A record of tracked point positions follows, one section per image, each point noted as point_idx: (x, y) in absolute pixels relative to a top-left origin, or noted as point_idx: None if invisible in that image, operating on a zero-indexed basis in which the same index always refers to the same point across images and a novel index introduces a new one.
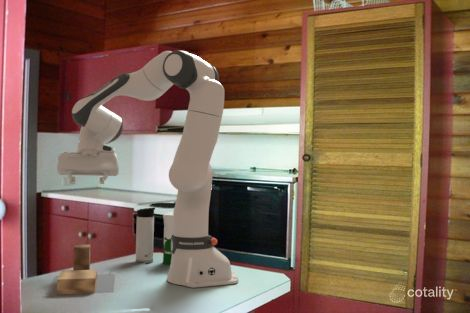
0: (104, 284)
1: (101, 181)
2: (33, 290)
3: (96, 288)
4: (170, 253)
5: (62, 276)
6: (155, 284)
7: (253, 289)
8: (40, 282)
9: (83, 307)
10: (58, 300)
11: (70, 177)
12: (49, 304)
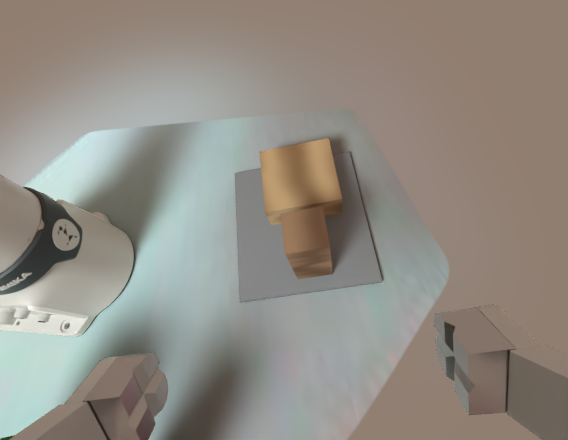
0: (255, 215)
1: (133, 355)
2: (388, 186)
3: None
4: None
5: (325, 156)
6: (160, 235)
7: None
8: (401, 241)
9: (273, 118)
10: None
11: (525, 335)
12: (327, 124)
